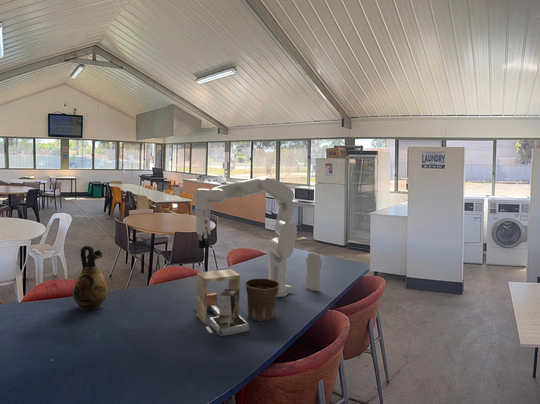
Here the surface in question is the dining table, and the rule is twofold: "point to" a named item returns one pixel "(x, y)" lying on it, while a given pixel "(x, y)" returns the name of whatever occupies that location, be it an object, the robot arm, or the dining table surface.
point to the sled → (215, 320)
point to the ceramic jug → (90, 282)
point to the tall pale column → (313, 271)
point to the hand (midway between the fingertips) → (202, 247)
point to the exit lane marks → (209, 329)
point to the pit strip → (207, 308)
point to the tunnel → (211, 277)
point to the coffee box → (228, 308)
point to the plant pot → (261, 298)
